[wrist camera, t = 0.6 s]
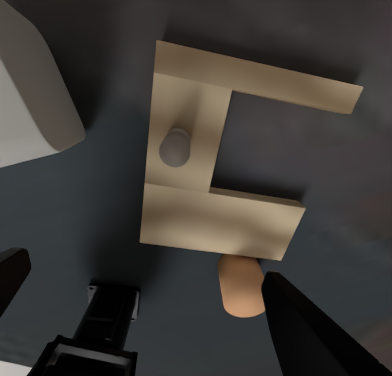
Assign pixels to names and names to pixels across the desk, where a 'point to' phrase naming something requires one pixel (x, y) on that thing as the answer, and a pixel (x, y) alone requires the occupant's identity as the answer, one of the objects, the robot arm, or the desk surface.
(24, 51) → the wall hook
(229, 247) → the pale wood u-shaped block
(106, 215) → the desk surface
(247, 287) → the tan rounded cone
